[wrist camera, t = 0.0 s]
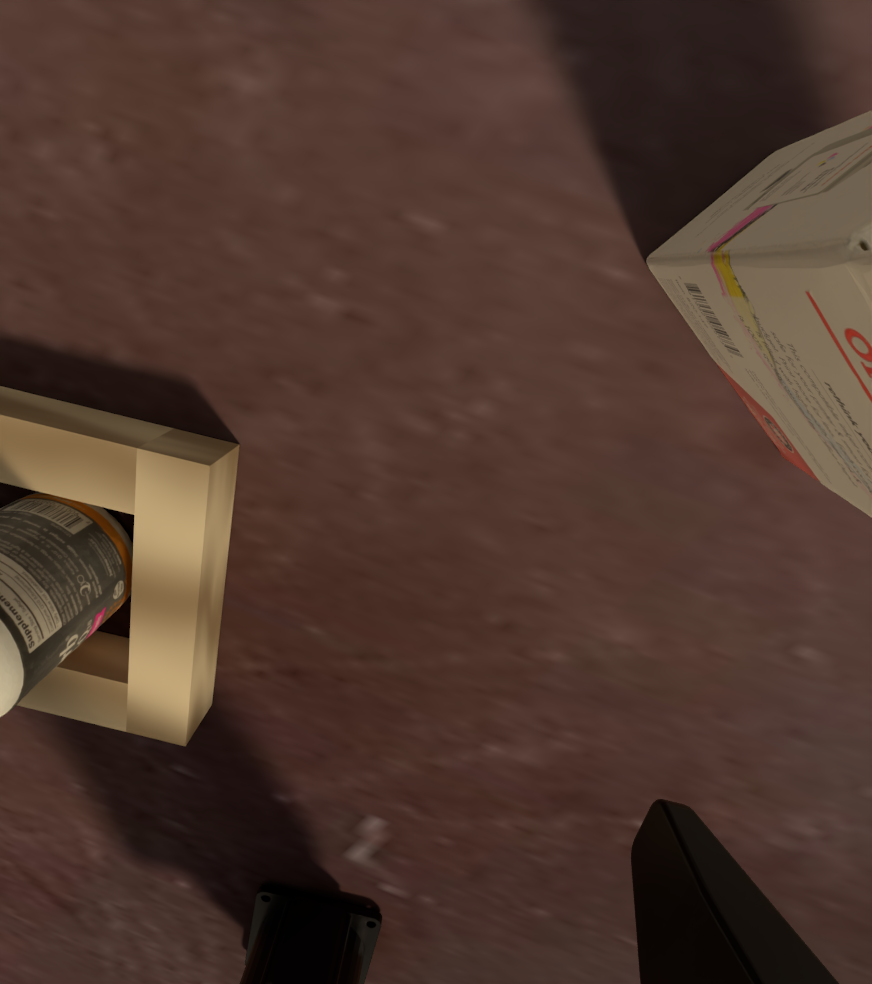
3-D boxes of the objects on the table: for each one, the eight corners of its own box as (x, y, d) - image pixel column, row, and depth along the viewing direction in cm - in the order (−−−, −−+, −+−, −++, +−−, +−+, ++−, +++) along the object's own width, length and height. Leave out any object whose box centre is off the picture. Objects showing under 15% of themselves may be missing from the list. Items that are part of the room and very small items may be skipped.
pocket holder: (211, 704, 27) (185, 746, 25) (-59, 638, 27) (-112, 673, 25) (240, 444, 22) (209, 466, 20) (-88, 364, 22) (-156, 376, 20)
